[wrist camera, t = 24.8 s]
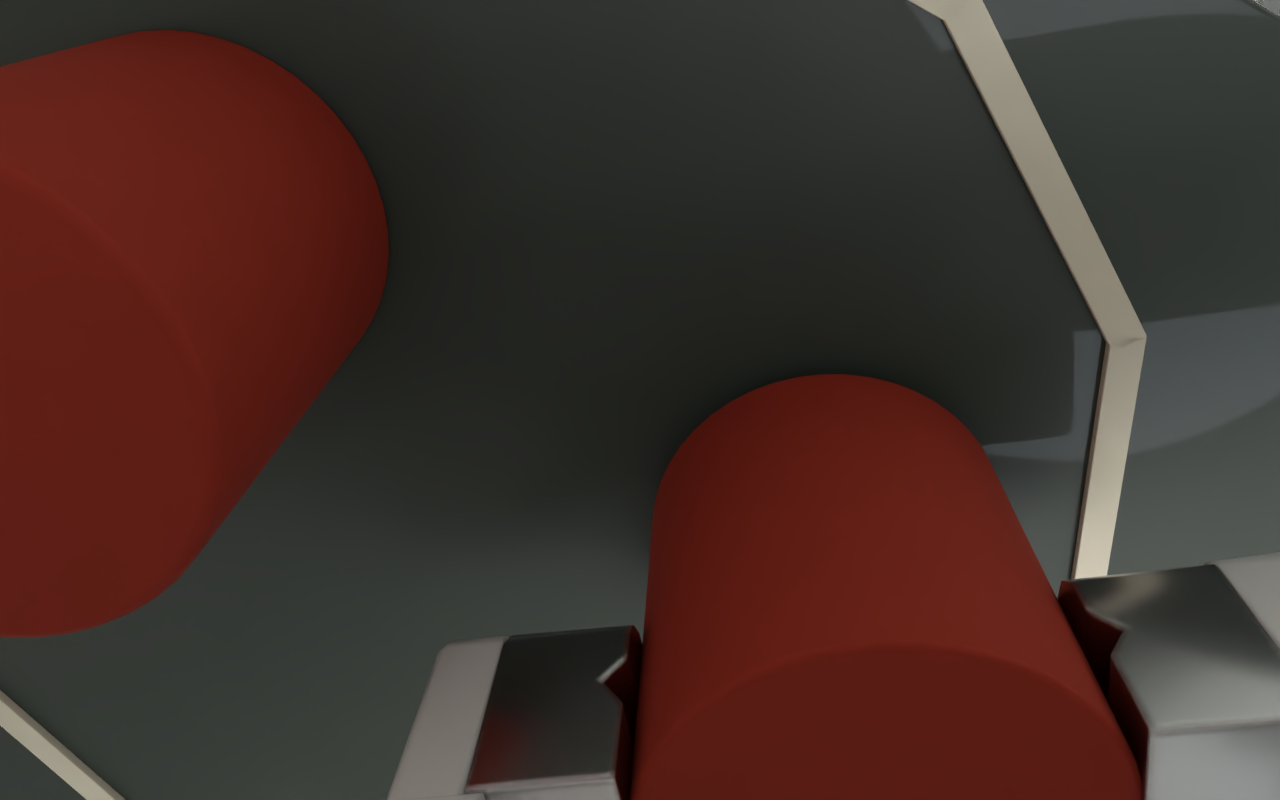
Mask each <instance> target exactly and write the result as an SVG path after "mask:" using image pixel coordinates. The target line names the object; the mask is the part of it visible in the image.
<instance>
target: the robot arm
mask: <svg viewBox="0 0 1280 800" xmlns="http://www.w3.org/2000/svg"><path fill="white" fill-rule="evenodd" d="M1057 599H1058V601H1059V603H1060V606H1061V608H1062V610H1063V612H1064V614H1065V616H1066V618H1067V620H1068V622H1069V624H1070V626H1071V628H1072V630H1073V632H1074V634H1075V636H1076V638H1077V640H1078V642H1079V644H1080V646H1081V648H1082V650H1083V652H1084V655H1085V657H1086V659H1087V661H1088V663H1089V665H1090V667H1091V669H1092V671H1093V673H1094V675H1095V677H1096V679H1097V681H1098V683H1099V685H1100V687H1101V689H1102V691H1103V693H1104V695H1105V697H1106V699H1107V701H1108V704H1109V706H1110V708H1111V710H1112V712H1113V714H1114V716H1115V718H1116V720H1117V722H1118V724H1119V726H1120V728H1121V730H1122V732H1123V734H1124V736H1125V738H1126V740H1127V742H1128V744H1129V746H1130V748H1131V750H1132V753H1133V755H1134V757H1135V759H1136V761H1137V764H1138V767H1139V770H1140V777H1141V783H1142V794H1141V800H1280V553H1272V554H1265V555H1257V556H1249V557H1242V558H1234V559H1226V560H1219V561H1211V562H1206V563H1205V564H1204V565H1197V566H1188V567H1179V568H1170V569H1161V570H1152V571H1143V572H1134V573H1125V574H1116V575H1107V576H1098V577H1089V578H1079V579H1070V580H1061V584H1060V588H1059V593H1058V597H1057ZM642 646H643V645H642V641H641V637H640V633H639V632H638V630H637V629H636V627H635V626H634V625H627V626H615V627H603V628H591V629H579V630H567V631H555V632H543V633H531V634H519V635H511V636H510V637H505V636H502V637H492V638H481V639H471V640H460V641H450V642H449V643H448V644H447V645H446V646H444V647H443V648H442V649H441V650H440V652H439V653H438V654H437V657H436V660H435V663H434V666H433V669H432V671H431V674H430V677H429V680H428V683H427V686H426V688H425V691H424V694H423V697H422V700H421V703H420V706H419V708H418V711H417V714H416V717H415V720H414V723H413V725H412V728H411V731H410V734H409V737H408V740H407V743H406V745H405V748H404V751H403V754H402V757H401V760H400V762H399V765H398V768H397V771H396V774H395V777H394V780H393V782H392V785H391V788H390V791H389V794H388V797H387V799H386V800H630V795H631V783H632V771H633V758H634V740H635V728H636V716H637V707H638V697H639V685H640V672H641V659H642Z"/></svg>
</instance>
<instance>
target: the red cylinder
mask: <svg viewBox="0 0 1280 800" xmlns="http://www.w3.org/2000/svg"><path fill="white" fill-rule="evenodd" d="M388 258H389V248H388V229H387V223H386V218H385V212H384V207H383V203H382V200H381V197H380V193H379V190H378V187H377V184H376V181H375V179H374V177H373V174H372V172H371V170H370V168H369V165H368V163H367V161H366V159H365V157H364V155H363V154H362V152H361V150H360V149H359V147H358V145H357V144H356V142H355V140H354V138H353V137H352V135H351V134H350V133H349V131H348V130H347V129H346V127H345V126H344V125H343V123H342V122H341V121H340V119H339V118H338V117H337V115H336V114H335V113H334V112H333V111H332V110H331V109H330V108H329V107H328V106H327V105H326V104H325V103H324V102H323V100H322V99H321V98H320V97H319V96H318V95H317V94H316V93H315V92H313V91H312V90H311V89H310V88H309V87H307V86H306V85H305V84H304V83H303V82H301V81H300V80H299V79H298V78H297V77H295V76H294V75H293V74H291V73H290V72H288V71H287V70H285V69H284V68H282V67H281V66H279V65H278V64H276V63H275V62H273V61H271V60H270V59H268V58H266V57H264V56H262V55H260V54H258V53H256V52H254V51H252V50H250V49H248V48H246V47H243V46H241V45H238V44H235V43H232V42H229V41H227V40H224V39H221V38H218V37H213V36H209V35H204V34H199V33H195V32H187V31H175V30H153V31H139V32H134V33H129V34H125V35H120V36H115V37H112V38H108V39H104V40H100V41H96V42H92V43H89V44H85V45H81V46H77V47H73V48H70V49H66V50H62V51H58V52H54V53H51V54H47V55H43V56H39V57H35V58H31V59H28V60H24V61H20V62H16V63H12V64H9V65H5V66H1V67H0V637H3V638H40V637H48V636H56V635H64V634H71V633H74V632H78V631H82V630H86V629H90V628H94V627H98V626H100V625H103V624H105V623H108V622H110V621H112V620H115V619H117V618H120V617H122V616H125V615H127V614H129V613H132V612H134V611H135V610H137V609H139V608H140V607H142V606H144V605H145V604H147V603H149V602H150V601H152V600H154V599H155V598H157V597H158V596H159V595H160V594H162V593H163V592H164V591H165V590H166V589H167V588H169V587H170V586H171V585H172V584H173V583H175V582H176V581H177V580H178V579H179V578H180V576H181V575H182V574H183V573H184V572H185V571H186V569H187V568H188V567H189V566H190V565H191V563H192V562H193V561H194V560H195V559H196V557H197V556H198V555H199V553H200V552H201V551H202V549H203V548H204V547H205V545H206V544H207V543H208V541H209V540H210V539H211V537H212V536H213V535H214V533H215V532H216V531H217V529H218V528H219V527H220V525H221V524H222V523H223V521H224V520H225V519H226V517H227V516H228V515H229V513H230V512H231V511H232V509H233V508H234V507H235V505H236V504H237V503H238V501H239V500H240V499H241V497H242V496H243V495H244V493H245V492H246V491H247V489H248V488H249V487H250V485H251V484H252V483H253V481H254V480H255V479H256V477H257V476H258V475H259V473H260V472H261V471H262V469H263V468H264V467H265V466H266V464H267V463H268V462H269V460H270V459H271V458H272V456H273V455H274V454H275V452H276V451H277V450H278V448H279V447H280V446H281V444H282V443H283V442H284V440H285V439H286V438H287V436H288V435H289V434H290V432H291V431H292V430H293V428H294V427H295V426H296V424H297V423H298V422H299V420H300V419H301V418H302V416H303V415H304V414H305V412H306V411H307V410H308V408H309V407H310V406H311V404H312V403H313V402H314V400H315V399H316V398H317V396H318V395H319V394H320V392H321V391H322V390H323V388H324V387H325V386H326V384H327V383H328V382H329V380H330V379H331V378H332V376H333V375H334V374H335V372H336V371H337V370H338V368H339V367H340V366H341V364H342V363H343V362H344V360H345V359H346V358H347V356H348V355H349V354H350V352H351V351H352V350H353V348H354V347H355V346H356V344H357V343H358V342H359V340H360V339H361V338H362V336H363V335H364V333H365V331H366V330H367V328H368V326H369V325H370V323H371V321H372V320H373V318H374V315H375V313H376V311H377V308H378V306H379V303H380V301H381V298H382V294H383V290H384V286H385V282H386V278H387V268H388Z"/></svg>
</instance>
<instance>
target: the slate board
mask: <svg viewBox="0 0 1280 800" xmlns="http://www.w3.org/2000/svg"><path fill="white" fill-rule="evenodd" d="M153 30H175V31H187V32H195V33H199V34H204V35H209V36H213V37H218V38H221V39H224V40H227V41H229V42H232V43H235V44H238V45H241V46H243V47H246V48H248V49H250V50H252V51H254V52H256V53H258V54H260V55H262V56H264V57H266V58H268V59H270V60H271V61H273V62H275V63H276V64H278V65H279V66H281V67H282V68H284V69H285V70H287V71H288V72H290V73H291V74H293V75H294V76H295V77H297V78H298V79H299V80H300V81H301V82H303V83H304V84H305V85H306V86H307V87H309V88H310V89H311V90H312V91H313V92H315V93H316V94H317V95H318V96H319V97H320V98H321V99H322V100H323V102H324V103H325V104H326V105H327V106H328V107H329V108H330V109H331V110H332V111H333V112H334V113H335V114H336V115H337V117H338V118H339V119H340V121H341V122H342V123H343V125H344V126H345V127H346V129H347V130H348V131H349V133H350V134H351V135H352V137H353V138H354V140H355V142H356V144H357V145H358V147H359V149H360V150H361V152H362V154H363V155H364V157H365V159H366V161H367V163H368V165H369V168H370V170H371V172H372V174H373V177H374V179H375V181H376V184H377V187H378V190H379V193H380V197H381V200H382V203H383V207H384V212H385V218H386V223H387V229H388V248H389V258H388V268H387V278H386V282H385V286H384V290H383V294H382V298H381V301H380V303H379V306H378V308H377V311H376V313H375V315H374V318H373V320H372V321H371V323H370V325H369V326H368V328H367V330H366V331H365V333H364V335H363V336H362V338H361V339H360V340H359V342H358V343H357V344H356V346H355V347H354V348H353V350H352V351H351V352H350V354H349V355H348V356H347V358H346V359H345V360H344V362H343V363H342V364H341V366H340V367H339V368H338V370H337V371H336V372H335V374H334V375H333V376H332V378H331V379H330V380H329V382H328V383H327V384H326V386H325V387H324V388H323V390H322V391H321V392H320V394H319V395H318V396H317V398H316V399H315V400H314V402H313V403H312V404H311V406H310V407H309V408H308V410H307V411H306V412H305V414H304V415H303V416H302V418H301V419H300V420H299V422H298V423H297V424H296V426H295V427H294V428H293V430H292V431H291V432H290V434H289V435H288V436H287V438H286V439H285V440H284V442H283V443H282V444H281V446H280V447H279V448H278V450H277V451H276V452H275V454H274V455H273V456H272V458H271V459H270V460H269V462H268V463H267V464H266V466H265V467H264V468H263V469H262V471H261V472H260V473H259V475H258V476H257V477H256V479H255V480H254V481H253V483H252V484H251V485H250V487H249V488H248V489H247V491H246V492H245V493H244V495H243V496H242V497H241V499H240V500H239V501H238V503H237V504H236V505H235V507H234V508H233V509H232V511H231V512H230V513H229V515H228V516H227V517H226V519H225V520H224V521H223V523H222V524H221V525H220V527H219V528H218V529H217V531H216V532H215V533H214V535H213V536H212V537H211V539H210V540H209V541H208V543H207V544H206V545H205V547H204V548H203V549H202V551H201V552H200V553H199V555H198V556H197V557H196V559H195V560H194V561H193V562H192V563H191V565H190V566H189V567H188V568H187V569H186V571H185V572H184V573H183V574H182V575H181V576H180V578H179V579H178V580H177V581H176V582H175V583H173V584H172V585H171V586H170V587H169V588H167V589H166V590H165V591H164V592H163V593H162V594H160V595H159V596H158V597H157V598H155V599H154V600H152V601H150V602H149V603H147V604H145V605H144V606H142V607H140V608H139V609H137V610H135V611H134V612H132V613H129V614H127V615H125V616H122V617H120V618H117V619H115V620H112V621H110V622H108V623H105V624H103V625H100V626H98V627H94V628H90V629H86V630H82V631H78V632H74V633H71V634H64V635H56V636H48V637H40V638H3V637H0V800H386V799H387V797H388V794H389V791H390V788H391V785H392V782H393V780H394V777H395V774H396V771H397V768H398V765H399V762H400V760H401V757H402V754H403V751H404V748H405V745H406V743H407V740H408V737H409V734H410V731H411V728H412V725H413V723H414V720H415V717H416V714H417V711H418V708H419V706H420V703H421V700H422V697H423V694H424V691H425V688H426V686H427V683H428V680H429V677H430V674H431V671H432V669H433V666H434V663H435V660H436V657H437V654H438V653H439V652H440V650H441V649H442V648H443V647H444V646H446V645H447V644H448V643H449V642H450V641H460V640H471V639H481V638H492V637H502V636H505V637H510V636H511V635H519V634H531V633H543V632H555V631H567V630H579V629H591V628H603V627H615V626H627V625H634V626H635V627H636V629H637V630H638V632H639V633H640V637H641V641H642V642H643V630H644V618H645V606H646V593H647V581H648V569H649V557H650V544H651V532H652V520H653V512H654V504H655V499H656V495H657V492H658V489H659V485H660V482H661V480H662V477H663V475H664V473H665V471H666V469H667V467H668V464H669V463H670V461H671V459H672V458H673V456H674V455H675V453H676V452H677V450H678V449H679V447H680V446H681V445H682V443H683V442H684V441H685V440H686V439H687V438H688V437H689V435H690V434H691V433H692V432H693V431H694V430H695V429H696V428H697V427H698V426H699V425H700V424H701V423H703V422H704V421H705V420H706V419H707V418H708V417H709V416H711V415H712V414H713V413H715V412H716V411H718V410H719V409H721V408H722V407H724V406H725V405H727V404H728V403H730V402H731V401H733V400H735V399H737V398H739V397H741V396H743V395H745V394H747V393H749V392H751V391H753V390H756V389H758V388H761V387H764V386H766V385H769V384H772V383H775V382H779V381H783V380H787V379H792V378H796V377H802V376H811V375H819V374H848V375H857V376H865V377H872V378H876V379H880V380H884V381H888V382H892V383H895V384H898V385H901V386H903V387H906V388H909V389H911V390H914V391H916V392H918V393H920V394H922V395H924V396H926V397H927V398H929V399H931V400H933V401H935V402H937V403H938V404H939V405H941V406H942V407H943V408H945V409H946V410H948V411H949V412H950V413H952V414H953V415H954V416H955V417H956V418H957V419H958V420H959V421H960V422H961V423H962V424H963V425H965V426H966V427H967V428H968V429H969V430H970V432H971V433H972V434H973V436H974V437H975V438H976V440H977V441H978V442H979V444H980V445H981V446H982V448H983V450H984V452H985V453H986V455H987V457H988V459H989V461H990V463H991V465H992V467H993V469H994V471H995V473H996V475H997V477H998V479H999V481H1000V483H1001V485H1002V487H1003V489H1004V491H1005V493H1006V495H1007V497H1008V499H1009V501H1010V503H1011V505H1012V508H1013V510H1014V512H1015V514H1016V516H1017V518H1018V520H1019V522H1020V524H1021V526H1022V528H1023V530H1024V532H1025V534H1026V536H1027V538H1028V540H1029V542H1030V544H1031V546H1032V548H1033V550H1034V552H1035V554H1036V557H1037V559H1038V561H1039V563H1040V565H1041V567H1042V569H1043V571H1044V573H1045V575H1046V577H1047V579H1048V581H1049V583H1050V585H1051V587H1052V589H1053V591H1054V593H1055V595H1056V597H1058V593H1059V588H1060V584H1061V580H1070V579H1079V578H1089V577H1098V576H1107V575H1116V574H1125V573H1134V572H1143V571H1152V570H1161V569H1170V568H1179V567H1188V566H1197V565H1204V564H1205V563H1206V562H1211V561H1219V560H1226V559H1234V558H1242V557H1249V556H1257V555H1265V554H1272V553H1280V17H1279V16H1277V15H1275V14H1274V13H1272V12H1270V11H1269V10H1267V9H1265V8H1264V7H1262V6H1260V5H1259V4H1257V3H1255V2H1254V1H1252V0H0V67H1V66H5V65H9V64H12V63H16V62H20V61H24V60H28V59H31V58H35V57H39V56H43V55H47V54H51V53H54V52H58V51H62V50H66V49H70V48H73V47H77V46H81V45H85V44H89V43H92V42H96V41H100V40H104V39H108V38H112V37H115V36H120V35H125V34H129V33H134V32H139V31H153Z"/></svg>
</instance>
